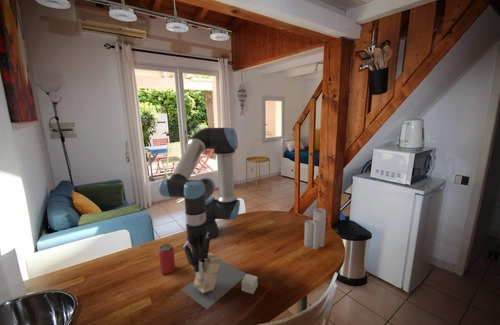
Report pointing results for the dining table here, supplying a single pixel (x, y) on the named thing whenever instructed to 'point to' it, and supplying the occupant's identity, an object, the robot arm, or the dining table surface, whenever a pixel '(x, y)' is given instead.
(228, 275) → the rubber mat
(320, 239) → the vase
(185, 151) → the robot arm
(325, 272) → the dining table surface
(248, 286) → the sage cube
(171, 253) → the beer can
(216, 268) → the beech block
